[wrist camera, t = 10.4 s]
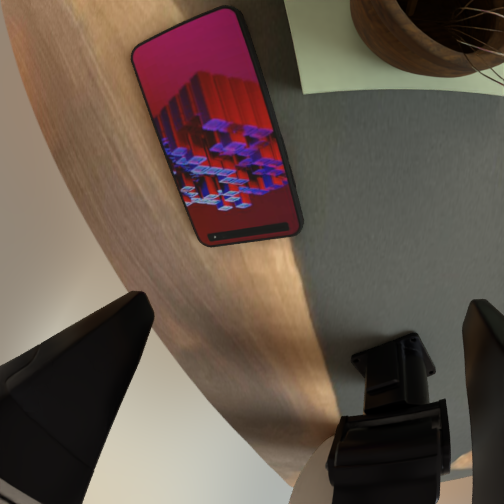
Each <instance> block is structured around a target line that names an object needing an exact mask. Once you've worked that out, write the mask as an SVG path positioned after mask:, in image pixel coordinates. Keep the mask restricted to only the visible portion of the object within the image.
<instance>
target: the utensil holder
mask: <svg viewBox="0 0 504 504" xmlns="http://www.w3.org/2000/svg"><path fill="white" fill-rule="evenodd" d="M350 12H351V17H352V21H353V24H354V26H355V29H356V31H357V33H358V34H359V36H360V38H361V39H362V41H363V42H364V43H365V44H366V46H367V47H368V48H369V49H370V50H371V51H372V52H373V53H374V54H375V55H376V56H378V57H379V58H380V59H381V60H383V61H384V62H386V63H387V64H389V65H391V66H393V67H395V68H397V69H400V70H402V71H405V72H408V73H412V74H417V75H423V76H430V77H440V78H455V77H463V76H467V75H471V74H473V73H476V72H479V73H480V74H481V75H483V76H485V77H487V78H488V79H490V80H492V81H494V82H496V83H498V84H500V85H502V86H504V84H502V83H500V82H498V81H496V80H494V79H492V78H490V77H488V76H486V75H485V74H483V73H481V72H480V71H483V70H487V69H491V70H492V71H493V72H494V73H495V74H496V75H497V76H498V77H499V78H501V79H502V80H503V81H504V79H503V78H502V77H500V76H499V75H498V74H497V73H496V72H495V71H494V70H493V69H492V68H493V67H495V66H498V65H500V64H502V63H504V0H350Z"/></svg>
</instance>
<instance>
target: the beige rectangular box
mask: <svg viewBox="0 0 504 504" xmlns="http://www.w3.org/2000/svg"><path fill="white" fill-rule="evenodd" d="M284 4H285V8H286V12H287V17H288V21H289V26H290V30H291V35H292V40H293V44H294V49H295V54H296V59H297V65H298V70H299V75H300V81H301V86H302V92H303V94H313V93H323V92H336V91H352V90H376V89H421V90H445V91H460V92H471V93H481V94H490V95H498V96H504V86H502V85H500V84H498V83H496V82H494V81H492V80H490V79H488V78H487V77H485V76H483V75H481V74H480V73H479V72H476V73H473V74H471V75H467V76H463V77H455V78H440V77H430V76H423V75H417V74H412V73H408V72H405V71H402V70H400V69H397V68H395V67H393V66H391V65H389V64H387V63H386V62H384V61H383V60H381V59H380V58H379V57H378V56H376V55H375V54H374V53H373V52H372V51H371V50H370V49H369V48H368V47H367V46H366V44H365V43H364V42H363V41H362V39H361V38H360V36H359V34H358V33H357V31H356V29H355V26H354V24H353V21H352V17H351V12H350V0H284ZM492 69H493V70H494V71H495V72H496V73H497V74H498V75H499V76H500V77H502V78H503V79H504V63H502V64H500V65H498V66H495V67H493V68H492ZM480 72H481V73H483V74H485V75H486V76H488V77H490V78H492V79H494V80H496V81H498V82H500V83H502V84H504V81H503V80H502V79H501V78H499V77H498V76H497V75H496V74H495V73H494V72H493V71H492V70H491V69H487V70H483V71H480Z"/></svg>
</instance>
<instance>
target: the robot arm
mask: <svg viewBox="0 0 504 504" xmlns="http://www.w3.org/2000/svg"><path fill="white" fill-rule="evenodd" d="M154 317H155V316H154V311H153V308H152V306H151V304H150V302H149V299H148V297H147V295H146V294H145V293H144V292H142V291H131V292H129V293H127V294H126V295H124V296H122V297H120V298H118V299H117V300H115V301H113V302H111V303H110V304H108V305H106V306H105V307H103V308H101V309H99V310H97V311H95V312H94V313H92V314H90V315H89V316H87V317H85V318H83V319H82V320H80V321H78V322H76V323H75V324H73V325H71V326H70V327H68V328H66V329H64V330H63V331H61V332H60V333H57V334H56V335H54V336H52V337H51V338H49V339H47V340H46V341H44V342H42V343H41V344H40V345H37V346H35V347H34V348H32V349H30V350H29V351H27V352H25V353H23V354H22V355H20V356H18V357H16V358H14V359H12V360H10V361H9V362H7V363H5V364H3V365H1V366H0V504H82V503H83V500H84V497H85V494H86V492H87V489H88V486H89V483H90V481H91V478H92V475H93V473H94V469H95V467H96V464H97V462H98V459H99V457H100V454H101V451H102V449H103V447H104V444H105V442H106V439H107V436H108V434H109V432H110V429H111V427H112V424H113V422H114V420H115V417H116V415H117V412H118V410H119V407H120V405H121V403H122V401H123V398H124V396H125V394H126V391H127V389H128V387H129V384H130V382H131V380H132V378H133V375H134V373H135V371H136V369H137V366H138V364H139V362H140V359H141V356H142V353H143V350H144V347H145V345H146V342H147V339H148V336H149V333H150V330H151V327H152V324H153V321H154ZM462 335H463V345H464V358H465V376H466V388H467V397H468V405H469V414H470V425H471V438H472V460H473V494H472V496H473V497H472V504H504V315H503V314H502V313H500V312H499V311H498V310H497V309H496V308H495V307H494V306H493V305H492V304H491V303H489V302H488V301H487V300H486V299H474V300H472V301H471V302H470V304H469V307H468V310H467V313H466V316H465V319H464V322H463V326H462ZM412 338H414V339H412ZM351 363H352V364H353V365H354V366H355V367H356V368H357V370H358V371H359V372H360V373H361V374H362V376H363V377H364V378H365V392H364V408H363V415H358V416H349V417H348V416H341V419H340V423H339V424H338V426H337V430H336V433H335V436H334V440H333V443H332V446H331V449H330V452H329V455H328V458H327V462H326V464H325V469H326V470H327V471H328V476H329V481H330V484H331V486H333V487H334V489H333V498H332V504H436V503H437V502H438V500H439V496H440V476H441V475H446V474H450V464H451V447H450V432H449V422H448V414H447V406H446V399H441V400H439V401H437V402H433V403H429V392H428V381H427V377H428V376H431V375H433V374H435V373H436V369H435V366H434V364H433V362H432V360H431V358H430V356H429V354H428V352H427V350H426V348H425V346H424V345H423V343H422V341H421V339H420V337H419V335H418V334H417V333H411V334H408V335H406V336H403V337H401V338H398V339H395V340H393V341H390V342H388V343H385V344H382V345H380V346H377V347H374V348H371V349H369V350H366V351H363V352H360V353H357V354H354V355H352V356H351Z"/></svg>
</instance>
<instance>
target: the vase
mask: <svg viewBox="0 0 504 504" xmlns="http://www.w3.org/2000/svg"><path fill="white" fill-rule="evenodd" d="M334 436H335V435H333V436H332V437H330V438H328V439H327V440H325V441H324V442H323V443H322V444H321V445H320V446H319V447H318V449H317V450H316V451H315V452H314V453H313V455H312V456H311V458H310V459H309V460H308V462H307V463H306V465H305V467H304V468H303V470H302V471H301V473H300V475H299V477H298V479H297V481H296V484H295V486H294V489H293V491H292V494H291V498H290V501H289V504H332V498H333V489H334V487H333V486H331V484H330V481H329V476H328V471H327V470H326V469H325V464H326V462H327V458H328V455H329V452H330V449H331V446H332V443H333V440H334Z"/></svg>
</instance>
